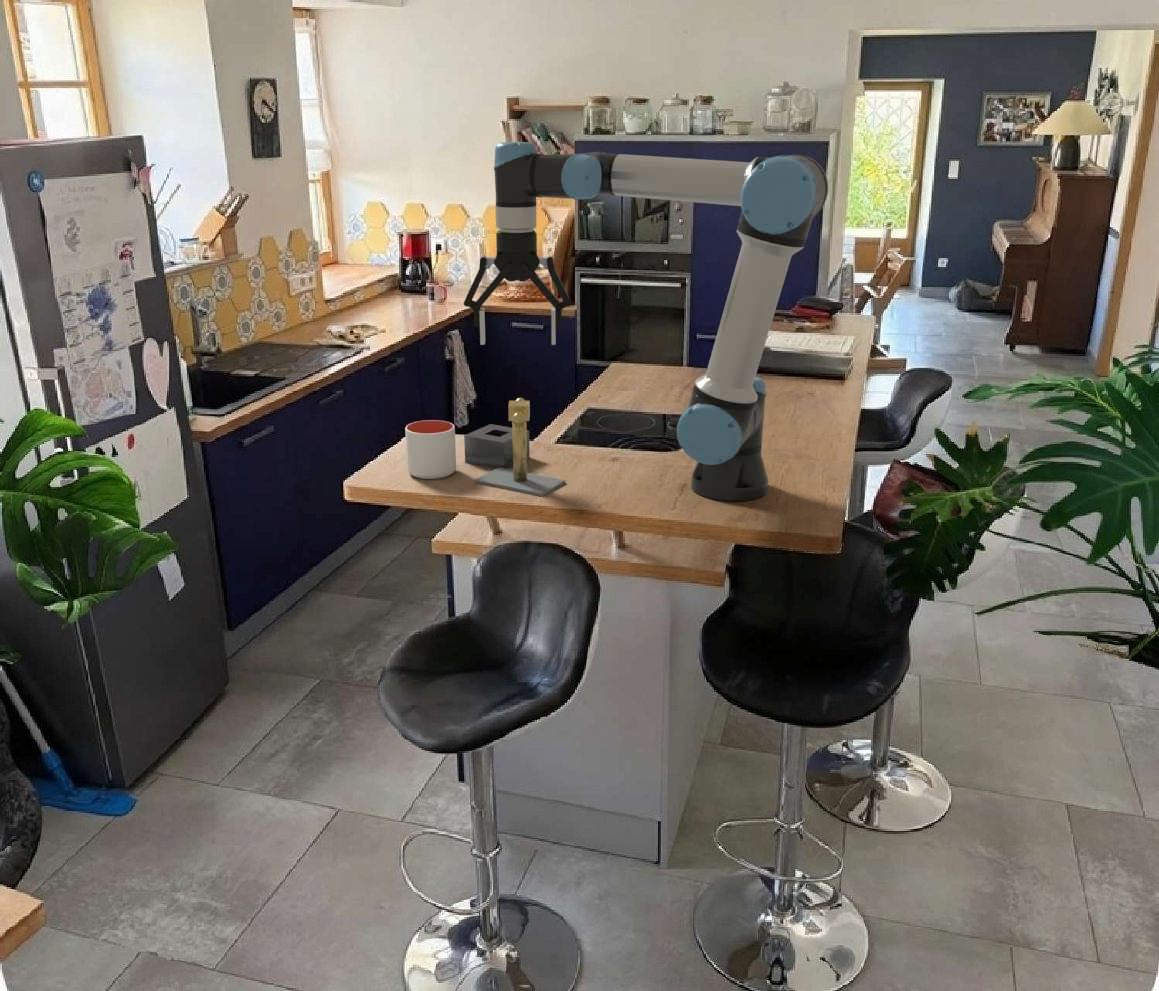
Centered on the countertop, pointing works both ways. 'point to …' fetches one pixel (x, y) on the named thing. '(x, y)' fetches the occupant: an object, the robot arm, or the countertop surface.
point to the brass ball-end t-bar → (519, 437)
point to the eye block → (491, 446)
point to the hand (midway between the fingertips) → (518, 343)
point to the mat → (531, 486)
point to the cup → (430, 449)
